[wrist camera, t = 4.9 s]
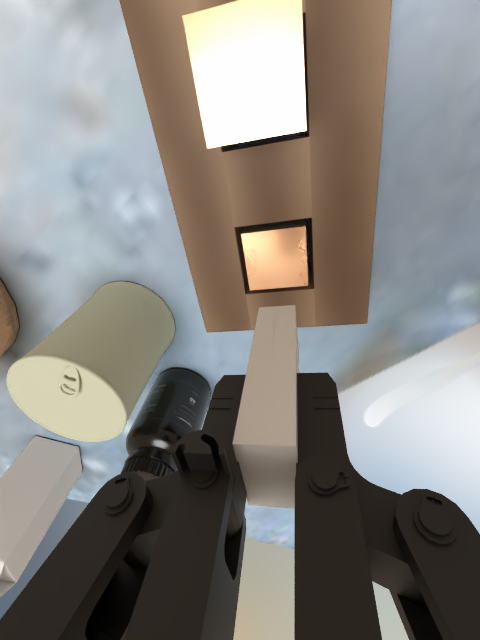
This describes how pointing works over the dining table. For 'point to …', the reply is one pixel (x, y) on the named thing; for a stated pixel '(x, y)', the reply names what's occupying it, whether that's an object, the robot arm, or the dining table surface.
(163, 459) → the supplement bottle
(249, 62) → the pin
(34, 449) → the milk carton
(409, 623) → the robot arm
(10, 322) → the pottery
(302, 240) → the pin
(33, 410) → the can
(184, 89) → the socket block
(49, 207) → the dining table surface
